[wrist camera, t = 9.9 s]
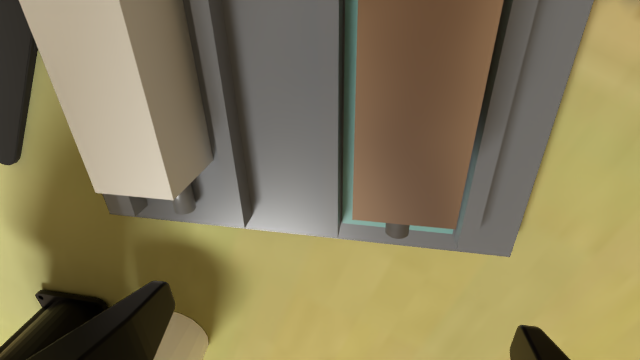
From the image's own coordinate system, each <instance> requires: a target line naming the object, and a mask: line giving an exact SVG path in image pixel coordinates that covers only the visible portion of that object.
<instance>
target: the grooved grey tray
mask: <svg viewBox="0 0 640 360" xmlns="http://www.w3.org/2000/svg"><path fill="white" fill-rule="evenodd" d="M593 1H594V0H504V1H503V6H502V11H501V16H500V20H499V25H498V30H497V35H496V40H495V44H494V49H493V54H492V59H491V63H490V68H489V73H488V78H487V82H486V87H485V92H484V97H483V102H482V106H481V111H480V116H479V121H478V125H477V130H476V135H475V140H474V145H473V149H472V154H471V159H470V164H469V168H468V173H467V178H466V183H465V187H464V192H463V197H462V202H461V207H460V211H459V216H458V221H457V226H456V230H455V229H445V228H434V227H424V226H413V225H410V227H409V234H408V236H407V237H405V238H402V239H395V238H392V237H390V236H388V235H387V234H386V232H385V227H386V223H381V222H371V221H360V220H352V211H353V172H354V133H355V94H356V55H357V16H358V0H183V5H184V10H185V15H186V21H187V26H188V31H189V36H190V41H191V47H192V52H193V57H194V62H195V67H196V73H197V78H198V83H199V88H200V93H201V99H202V104H203V109H204V114H205V119H206V125H207V130H208V135H209V140H210V145H211V151H212V156H213V161H212V162H211V163H210V164H209V165H208V166H207V167H206V168H205V169H204V170H203V171H202V172H201V173H200V174H199V175H198V176H197V177H196V178H195V179H194V180H193V181H192V182H191V186H192V190H193V194H194V199H195V203H196V209H195V210H194V211H193V212H191V213H189V214H185V215H179V214H176V213H175V211H174V207H173V203H172V200H165V199H154V198H144V197H134V196H123V195H113V194H103V197H104V199H105V202H106V205H107V207H108V210H109V212H110V214H114V215H124V216H133V217H142V218H152V219H161V220H170V221H180V222H189V223H198V224H207V225H217V226H226V227H235V228H245V229H254V230H263V231H273V232H282V233H291V234H301V235H310V236H319V237H329V238H338V239H347V240H357V241H366V242H375V243H384V244H394V245H403V246H412V247H422V248H431V249H440V250H450V251H459V252H468V253H478V254H487V255H496V256H506V257H510V255H511V252H512V249H513V246H514V243H515V240H516V237H517V234H518V231H519V228H520V225H521V222H522V218H523V215H524V212H525V209H526V206H527V203H528V200H529V197H530V194H531V191H532V188H533V185H534V182H535V179H536V176H537V173H538V170H539V166H540V163H541V160H542V157H543V154H544V151H545V148H546V145H547V142H548V139H549V136H550V133H551V130H552V127H553V124H554V121H555V118H556V114H557V111H558V108H559V105H560V102H561V99H562V96H563V93H564V90H565V87H566V84H567V81H568V78H569V75H570V72H571V69H572V66H573V62H574V59H575V56H576V53H577V50H578V47H579V44H580V41H581V38H582V35H583V32H584V29H585V26H586V23H587V20H588V17H589V14H590V10H591V7H592V4H593Z"/></svg>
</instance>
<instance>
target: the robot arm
mask: <svg viewBox="0 0 640 360" xmlns="http://www.w3.org/2000/svg"><path fill="white" fill-rule="evenodd" d="M35 296H36V298H37V299H38V301H39V303H40V304H41V306H42V308H41V309H40V310H39V311H38V312H37V313H36V314H35V315H34V316H33V317H32V318H31V319H30V320H29V321H27V322H26V323H25V324H24V325H23V326H22V327H21V328H20V329H19V330H18V331H17V332H16V333H15V334H14V335H13V336H11V337H10V338H9V339H8V340H7V341H6V342H5V343H4V344H3V345H2V346H1V347H0V360H153V359H154V357H155V355H156V353H157V350H158V348H159V346H160V343H161V341H162V338H163V336H164V334H165V331H166V329H167V327H168V324H169V322H170V319H171V317H172V315H173V312H174V309H175V301H174V298H173V295H172V292H171V289H170V286H169V284H168V283H167V282H162V281H152V282H150V283H148V284H147V285H145V286H143V287H142V288H140V289H139V290H137V291H135V292H134V293H132V294H131V295H129V296H127V297H126V298H124V299H123V300H121V301H119V302H118V303H116V304H115V305H113V306H111V307H110V308H108V307H107V305H106V303H105V302H104V301H103V300H101V299H97V298H91V297H85V296H78V295H72V294H65V293H59V292H53V291H46V290H40V291H39V292H37V293H36V295H35ZM510 359H511V360H570V359H569V358H568V357H567V356H566V355H565V354H564V353H563V351H562V350H561V349H560V348H559V347H558V346H557V345H556V344H555V343H554V342H553V341H552V340H551V339H550V338H549V337H548V336H547V335H546V334H545V333H544V332H543V331H542V330H541V329H540V328H538V327H535V326H527V325H520V326H518V328H517V330H516V333H515V335H514V338H513V341H512V344H511V347H510Z"/></svg>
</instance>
